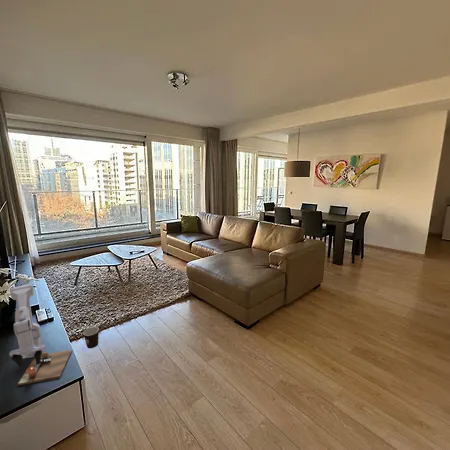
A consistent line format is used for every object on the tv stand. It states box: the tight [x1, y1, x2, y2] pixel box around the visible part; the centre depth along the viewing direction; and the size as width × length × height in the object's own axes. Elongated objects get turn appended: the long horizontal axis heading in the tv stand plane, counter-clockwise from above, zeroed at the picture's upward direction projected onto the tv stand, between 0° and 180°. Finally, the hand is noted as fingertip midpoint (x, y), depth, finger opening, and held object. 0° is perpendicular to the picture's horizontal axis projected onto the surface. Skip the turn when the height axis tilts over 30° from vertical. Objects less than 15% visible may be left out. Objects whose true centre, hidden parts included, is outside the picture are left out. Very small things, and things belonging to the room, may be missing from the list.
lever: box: [26, 358, 51, 379], centre depth 134 cm, size 14×7×5 cm, turn 16°
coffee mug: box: [81, 326, 100, 349], centre depth 155 cm, size 12×9×10 cm
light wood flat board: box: [17, 349, 73, 386], centre depth 137 cm, size 20×19×5 cm
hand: (30, 364), depth 127 cm, fingers open, 7 cm apart
